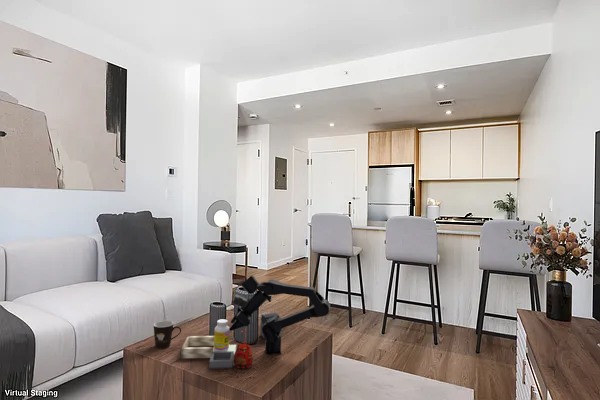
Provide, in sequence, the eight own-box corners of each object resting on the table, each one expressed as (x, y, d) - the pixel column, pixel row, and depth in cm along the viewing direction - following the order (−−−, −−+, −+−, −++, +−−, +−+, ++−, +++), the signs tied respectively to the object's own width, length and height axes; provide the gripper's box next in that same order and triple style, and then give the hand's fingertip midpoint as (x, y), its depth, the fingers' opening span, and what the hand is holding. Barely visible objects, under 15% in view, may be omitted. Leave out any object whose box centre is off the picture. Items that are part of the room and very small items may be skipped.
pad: (236, 345, 165) (236, 344, 165) (235, 355, 155) (235, 354, 155) (214, 346, 164) (214, 345, 164) (211, 355, 154) (211, 354, 154)
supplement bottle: (225, 353, 155) (226, 324, 155) (211, 351, 157) (212, 322, 157) (231, 347, 162) (232, 319, 162) (217, 345, 163) (218, 317, 163)
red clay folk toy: (231, 368, 143) (232, 331, 143) (237, 360, 150) (238, 325, 150) (249, 370, 142) (250, 333, 142) (254, 362, 149) (256, 327, 149)
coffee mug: (148, 347, 160) (149, 325, 160) (162, 340, 168) (163, 319, 168) (168, 352, 156) (169, 329, 156) (182, 345, 164) (182, 323, 164)
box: (264, 339, 174) (265, 317, 174) (260, 335, 179) (260, 314, 179) (279, 336, 178) (279, 315, 178) (274, 332, 182) (275, 312, 182)
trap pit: (233, 358, 152) (233, 351, 152) (232, 368, 143) (232, 360, 143) (212, 358, 151) (212, 351, 151) (209, 368, 142) (209, 361, 142)
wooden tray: (214, 344, 166) (215, 335, 166) (211, 357, 152) (211, 348, 152) (187, 344, 164) (187, 336, 164) (181, 358, 150) (181, 349, 150)
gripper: (244, 284, 170) (219, 307, 168) (242, 294, 151) (215, 321, 150) (260, 300, 171) (236, 323, 169) (260, 313, 152) (234, 339, 151)
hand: (230, 326), depth 160 cm, fingers open, 9 cm apart
